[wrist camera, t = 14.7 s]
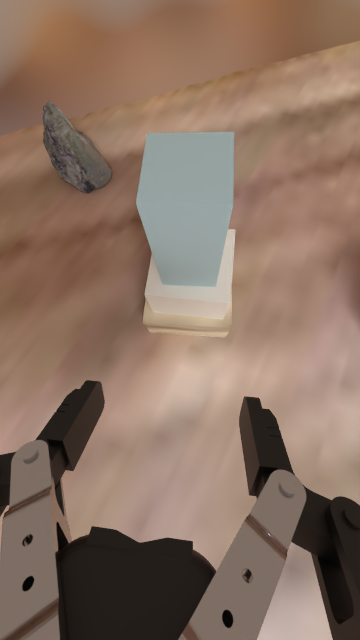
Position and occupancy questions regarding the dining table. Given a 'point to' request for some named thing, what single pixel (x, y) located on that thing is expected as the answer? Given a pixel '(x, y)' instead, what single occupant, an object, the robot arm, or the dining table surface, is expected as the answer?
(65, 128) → the mineral rock
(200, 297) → the tower top slab
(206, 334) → the tower bottom slab
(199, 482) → the dining table surface
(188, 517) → the dining table surface
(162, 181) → the pillar block
